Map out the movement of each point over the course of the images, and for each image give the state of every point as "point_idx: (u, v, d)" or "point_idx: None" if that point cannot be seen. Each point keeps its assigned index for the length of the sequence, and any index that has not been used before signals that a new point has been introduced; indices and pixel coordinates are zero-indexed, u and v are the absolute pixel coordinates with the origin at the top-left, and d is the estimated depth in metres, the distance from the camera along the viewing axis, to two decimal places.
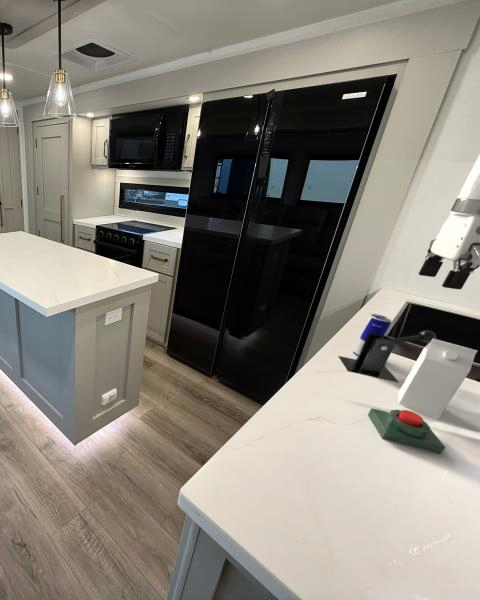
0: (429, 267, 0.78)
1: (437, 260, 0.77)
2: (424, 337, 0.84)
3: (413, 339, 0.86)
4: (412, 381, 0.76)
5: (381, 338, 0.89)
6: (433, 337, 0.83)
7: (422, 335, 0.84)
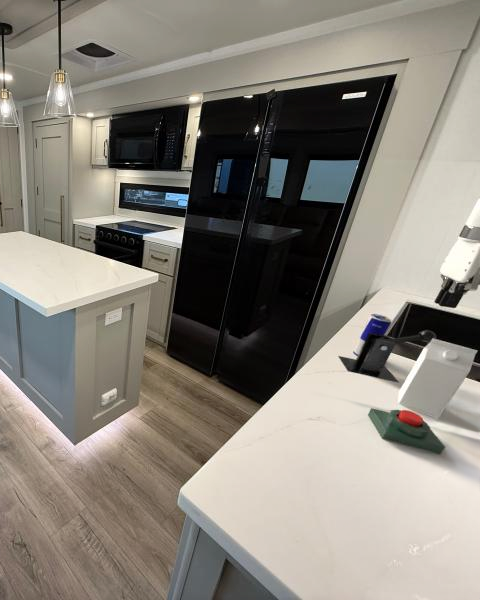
0: None
1: None
2: (424, 337, 0.84)
3: (413, 339, 0.86)
4: (412, 381, 0.76)
5: (381, 338, 0.89)
6: (433, 337, 0.83)
7: (422, 335, 0.84)
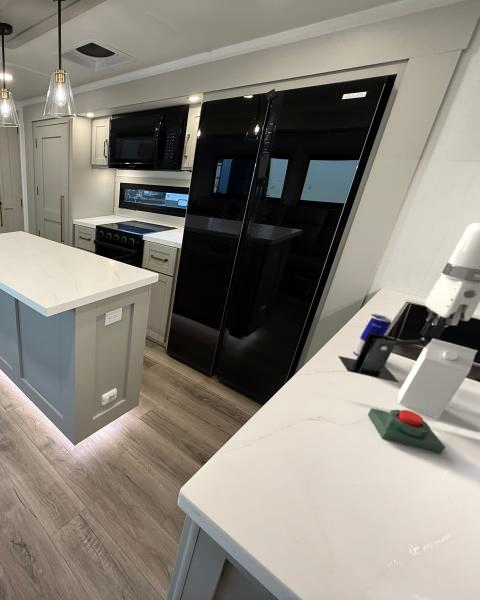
0: None
1: None
2: (425, 342, 0.84)
3: (413, 343, 0.86)
4: (412, 381, 0.76)
5: (382, 338, 0.89)
6: None
7: (423, 340, 0.85)
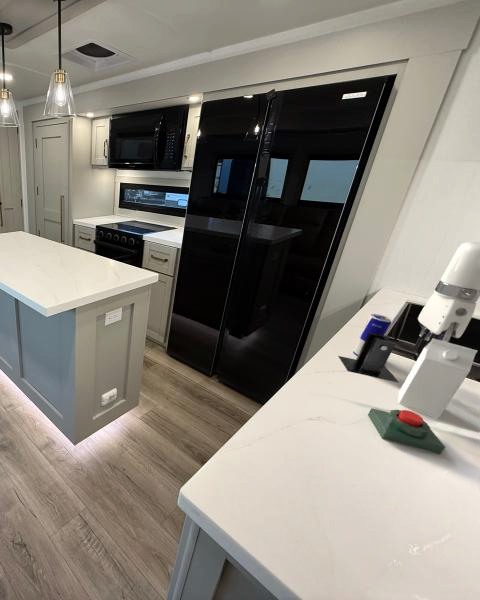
0: None
1: None
2: None
3: (408, 353, 0.87)
4: (412, 381, 0.76)
5: None
6: None
7: (419, 354, 0.86)
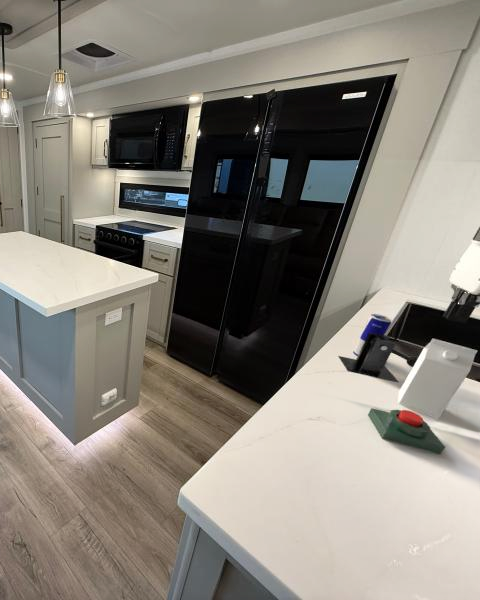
0: None
1: None
2: (414, 361, 0.87)
3: (404, 357, 0.88)
4: (412, 381, 0.76)
5: None
6: None
7: (414, 359, 0.87)
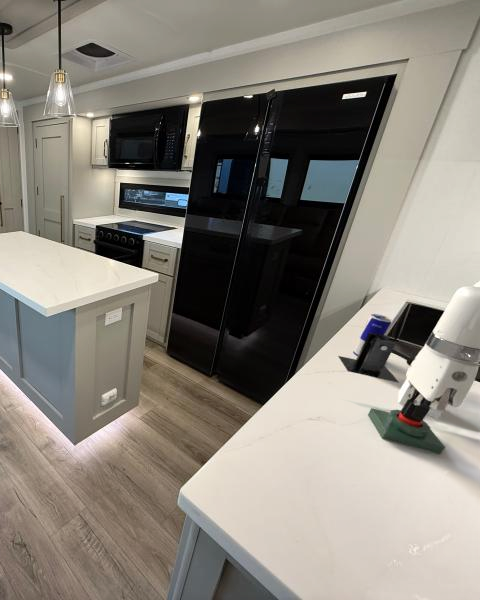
0: None
1: None
2: None
3: (404, 357, 0.88)
4: None
5: None
6: None
7: None
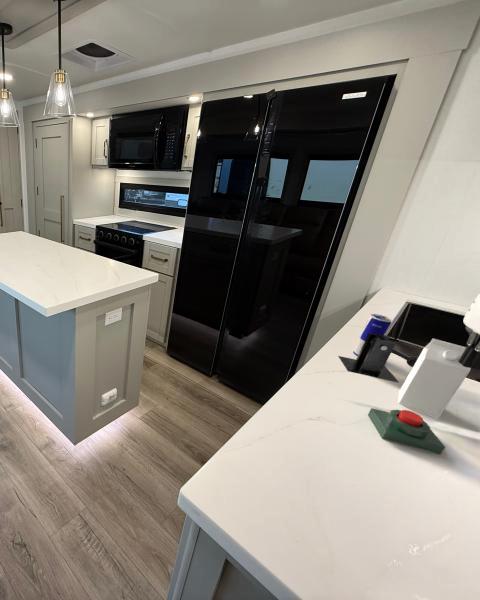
0: None
1: None
2: (414, 361, 0.87)
3: (404, 357, 0.88)
4: (412, 381, 0.76)
5: None
6: None
7: (414, 359, 0.87)
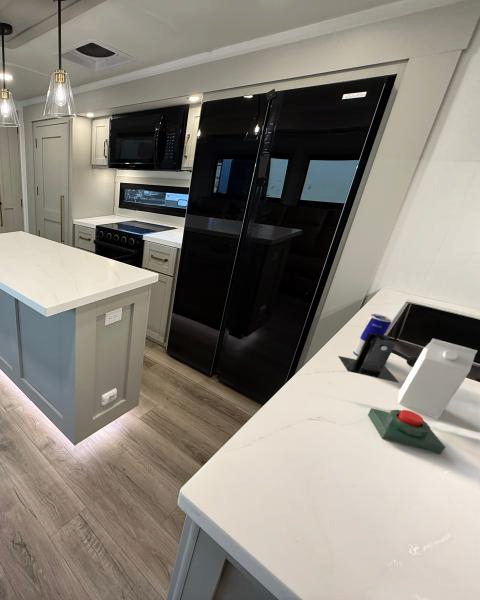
0: None
1: None
2: (414, 361, 0.87)
3: (404, 357, 0.88)
4: (412, 381, 0.76)
5: None
6: None
7: (414, 359, 0.87)
